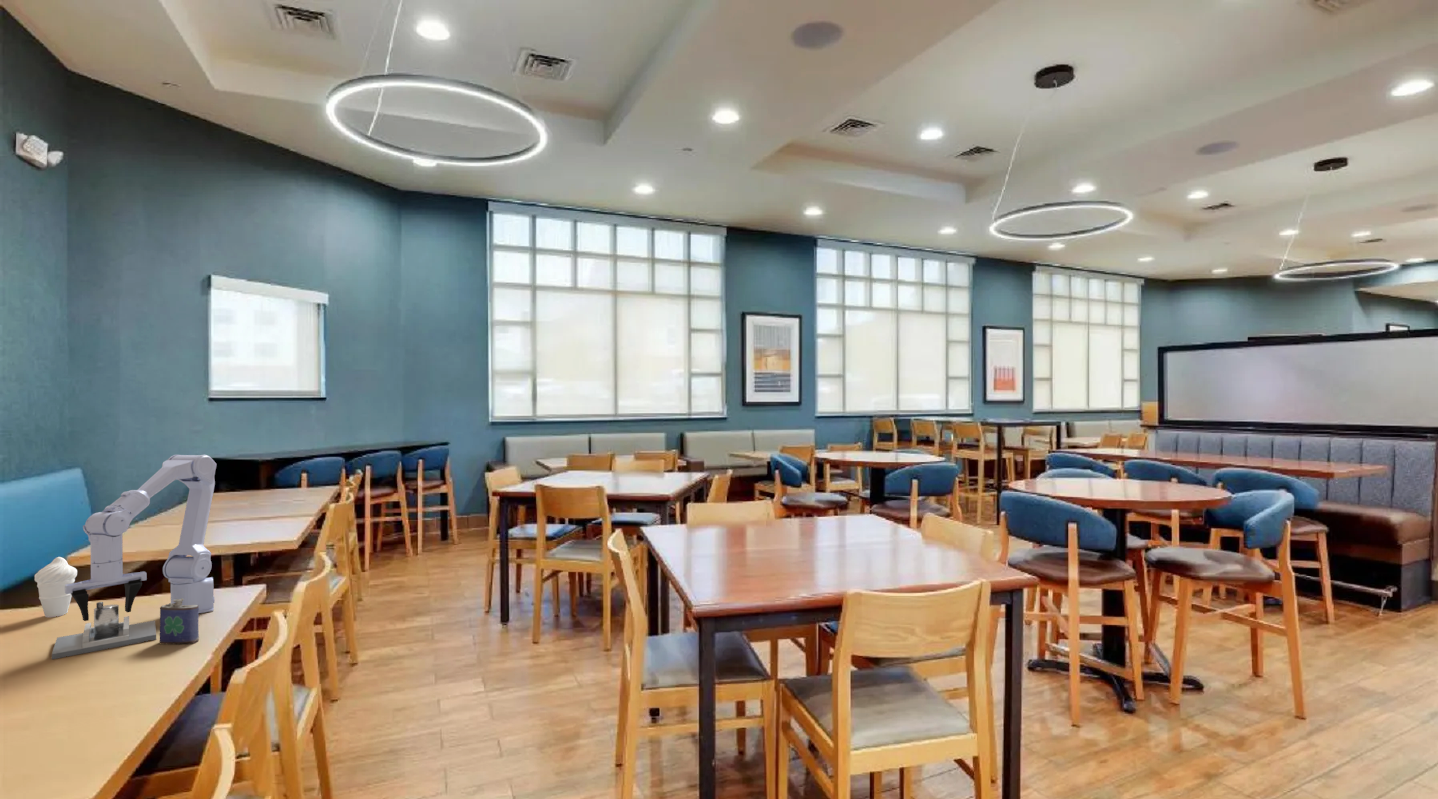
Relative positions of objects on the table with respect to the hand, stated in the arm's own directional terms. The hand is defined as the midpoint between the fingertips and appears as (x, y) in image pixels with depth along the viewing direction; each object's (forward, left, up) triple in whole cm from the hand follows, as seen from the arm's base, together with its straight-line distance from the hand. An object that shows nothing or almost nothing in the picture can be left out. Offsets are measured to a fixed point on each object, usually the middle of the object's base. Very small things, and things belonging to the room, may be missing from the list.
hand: (107, 615), depth 158 cm
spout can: (0, 0, -5) cm, 5 cm away
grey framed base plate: (0, 0, -6) cm, 6 cm away
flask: (-13, +13, -7) cm, 19 cm away
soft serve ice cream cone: (+11, -36, -6) cm, 38 cm away
